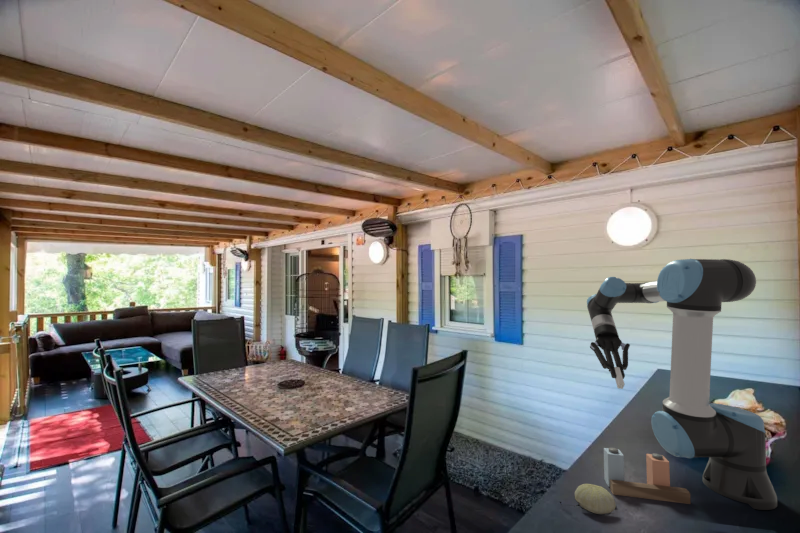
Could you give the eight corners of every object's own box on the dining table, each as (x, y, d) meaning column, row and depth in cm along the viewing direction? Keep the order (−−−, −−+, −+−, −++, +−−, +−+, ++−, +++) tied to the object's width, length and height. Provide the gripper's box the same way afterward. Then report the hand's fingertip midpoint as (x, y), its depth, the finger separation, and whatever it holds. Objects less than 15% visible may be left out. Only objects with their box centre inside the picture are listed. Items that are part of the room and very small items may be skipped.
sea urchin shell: (576, 484, 103) (598, 469, 99) (598, 512, 99) (622, 498, 96) (566, 498, 96) (590, 483, 92) (591, 530, 92) (616, 515, 88)
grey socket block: (604, 479, 106) (603, 445, 106) (619, 481, 105) (618, 447, 105) (608, 487, 102) (607, 451, 103) (624, 489, 101) (623, 453, 102)
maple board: (596, 469, 114) (596, 456, 114) (662, 477, 110) (662, 463, 110) (612, 499, 99) (612, 483, 99) (690, 509, 94) (690, 493, 94)
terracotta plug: (647, 486, 102) (646, 451, 103) (663, 488, 101) (662, 452, 102) (653, 494, 99) (652, 457, 99) (670, 496, 98) (669, 459, 98)
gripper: (621, 336, 139) (640, 393, 122) (584, 335, 142) (597, 390, 125) (626, 323, 134) (646, 381, 117) (587, 322, 137) (601, 379, 120)
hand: (621, 386), depth 121 cm, fingers closed
